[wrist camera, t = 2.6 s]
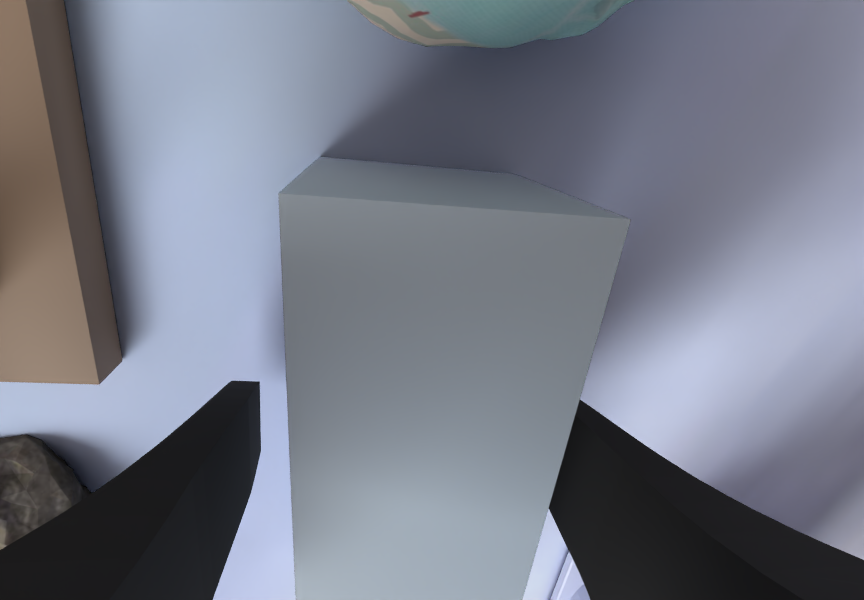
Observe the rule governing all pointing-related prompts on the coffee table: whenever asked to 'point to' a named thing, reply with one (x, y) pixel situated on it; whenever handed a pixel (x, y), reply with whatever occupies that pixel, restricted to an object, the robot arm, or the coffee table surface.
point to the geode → (33, 486)
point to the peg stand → (48, 211)
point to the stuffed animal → (485, 20)
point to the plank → (432, 371)
